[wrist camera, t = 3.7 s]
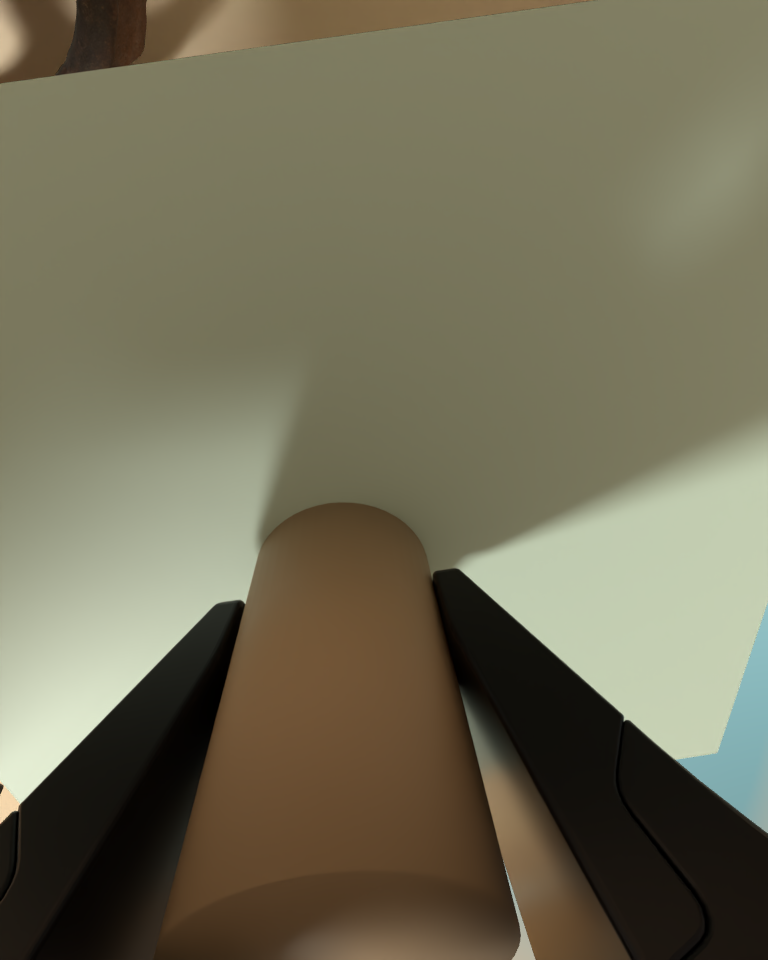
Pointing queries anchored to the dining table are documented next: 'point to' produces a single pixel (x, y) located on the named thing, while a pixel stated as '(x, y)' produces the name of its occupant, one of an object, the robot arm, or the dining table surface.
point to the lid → (382, 428)
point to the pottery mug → (106, 35)
